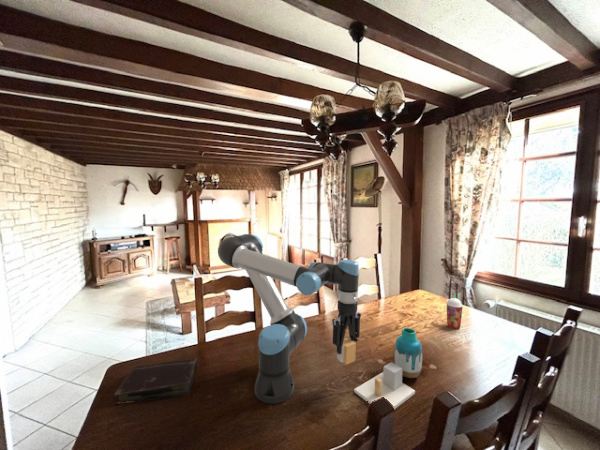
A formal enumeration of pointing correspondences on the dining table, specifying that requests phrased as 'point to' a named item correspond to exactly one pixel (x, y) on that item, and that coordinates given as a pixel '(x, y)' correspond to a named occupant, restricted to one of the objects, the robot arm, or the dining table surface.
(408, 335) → the vase
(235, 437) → the dining table surface
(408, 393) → the plate
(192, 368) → the diary
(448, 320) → the smoothie
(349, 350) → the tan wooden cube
